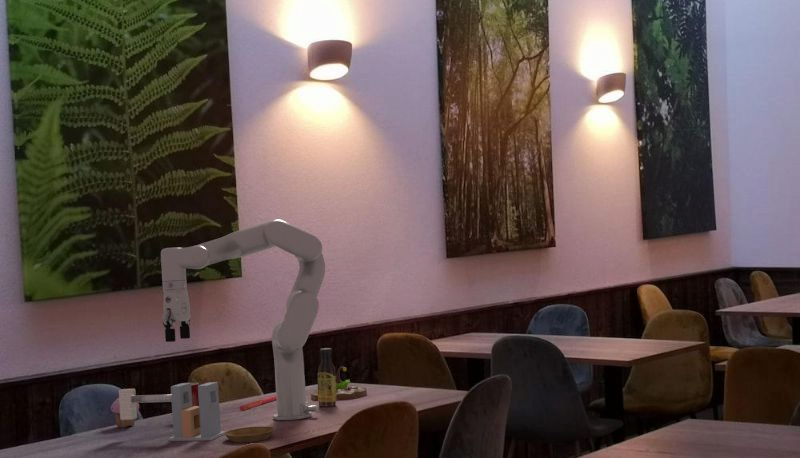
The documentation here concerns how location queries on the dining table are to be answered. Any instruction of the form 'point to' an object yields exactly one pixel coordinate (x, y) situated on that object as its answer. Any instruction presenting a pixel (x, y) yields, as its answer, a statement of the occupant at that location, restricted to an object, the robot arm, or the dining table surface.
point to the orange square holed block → (191, 421)
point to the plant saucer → (249, 434)
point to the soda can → (195, 394)
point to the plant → (344, 389)
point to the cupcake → (116, 410)
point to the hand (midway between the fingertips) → (178, 340)
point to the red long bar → (258, 402)
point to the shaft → (130, 399)
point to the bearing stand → (206, 409)
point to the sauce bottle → (326, 379)
